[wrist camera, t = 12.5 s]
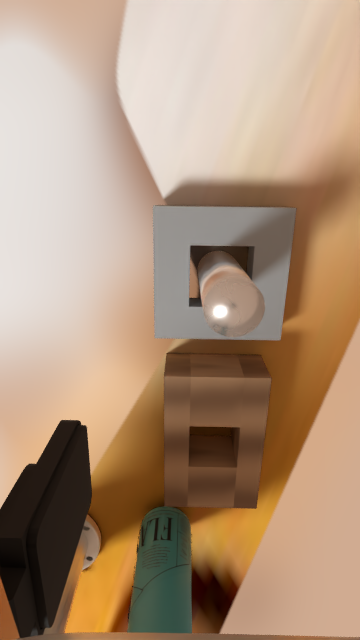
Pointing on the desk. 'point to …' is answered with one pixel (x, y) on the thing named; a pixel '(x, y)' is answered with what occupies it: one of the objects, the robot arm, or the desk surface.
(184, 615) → the beverage bottle
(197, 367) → the brown wooden block
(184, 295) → the seat block
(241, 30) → the desk surface
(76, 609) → the desk surface
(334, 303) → the desk surface
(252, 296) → the axle peg
